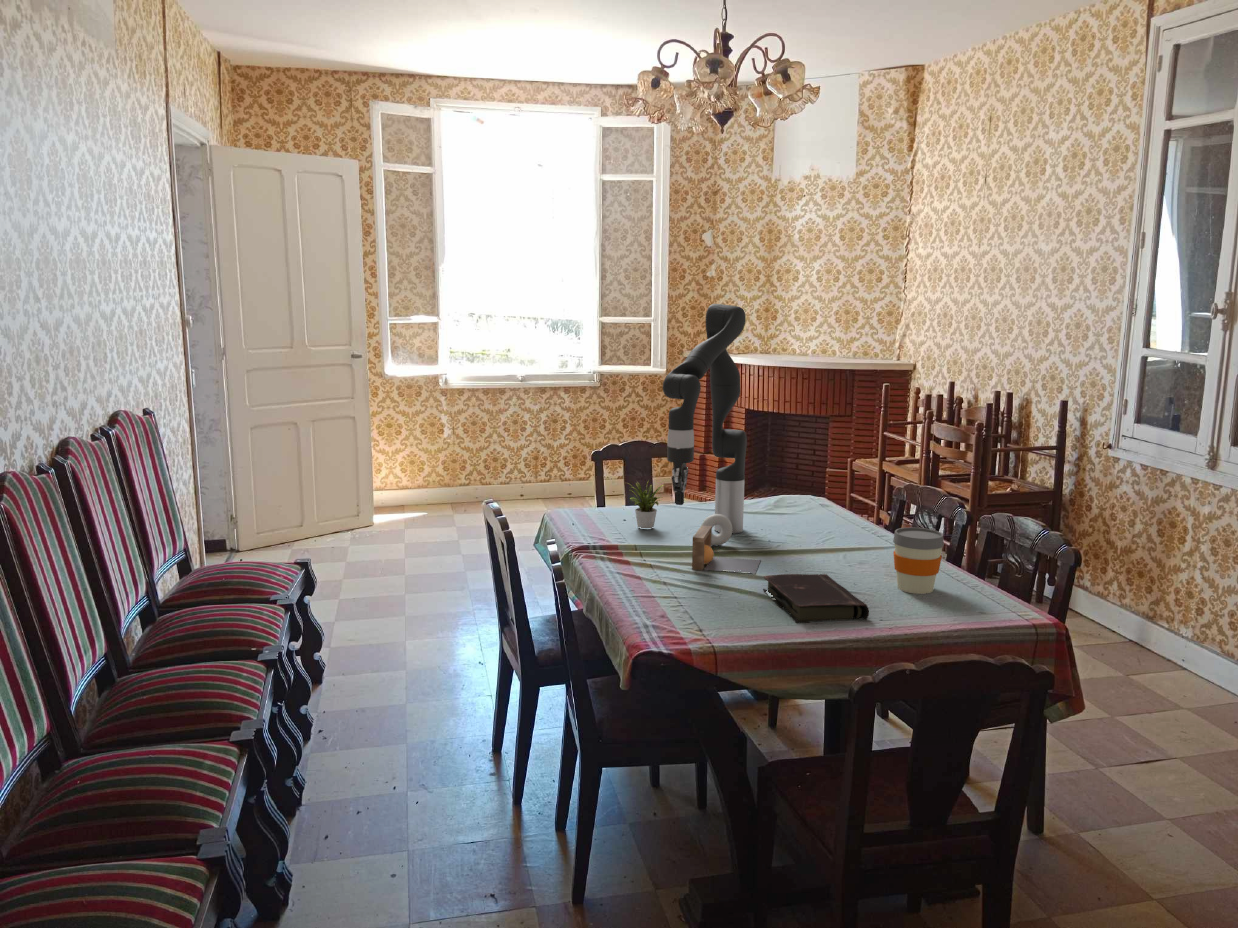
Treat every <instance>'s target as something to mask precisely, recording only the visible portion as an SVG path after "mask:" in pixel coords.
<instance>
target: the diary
mask: <svg viewBox="0 0 1238 928" xmlns="http://www.w3.org/2000/svg"><path fill="white" fill-rule="evenodd" d="M763 579H764V580H766V581H767V589H766V588H763V593H765V592H766V591H767V590H768V592H769V593H771V595H773V597H771V598H775V599H776V600H772V602H774V603H775V604H776V605H777V606H778V607H779V608H780V609H781V610H782V611H784V609H785V611H786V612H788V614H789V615H790V617H791V618H792V620H793V622H795V624H809V623H810V624H811V622H825V621H845V620H847V621H848V620H853V619H855V620H858V619H860V618H862V619H863V620H864V621H867V620H868V618H869V616H870V609H869V607H868V604H867V603H865V602H863V601H862V600H861V599H859V598H857V597H856V596H855V595H854V594H852V593H851V592H850V591H849V590H848V589H847V588H845V587H844V586H843V585H841V584H840V583H838V582H836V581H835V580H834V579H833V578H832V577H831V576H829V574H827V573H826V574H825V573H822V574H821V573H820V574H819V573H818V574H817V573H816V574H815V573H814V574H809V573H807V574H804V573H802V574H801V573H799V574H798V573H792V574H791V573H789V574H788V573H787V574H786V573H784V574H781V573H780V574H772V575H771V574H770V575H765V576H764V575H763ZM771 598H770V599H771Z"/></svg>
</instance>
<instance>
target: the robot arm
mask: <svg viewBox="0 0 1238 928" xmlns="http://www.w3.org/2000/svg"><path fill="white" fill-rule="evenodd" d="M746 319H747V318H746V313H745V309H743V307H740V306H737V305H731V304H723V303H712V304H710V305H709V306H708V308H707V309H706V313H705V333H706V339H705V340H704V341H702V342H700V343H698V344H697V345H696V346H695V347H694V348H693V349H691V350H690V352H689V353H688V355H687V356H686V358H685V359H684V361H683V362H681V363H680V364H679V365H677V366H676V367H675V368H673V369H672V370H671V371H670V372H669V373H668V374H667V375H666V376H665V378H664V380H663V383H662V391H663V394H664V396H666V397H667V398H669V399H674V400H683V401H682V404H681V405H680V406H678V407H677V406H676V407H673V408H671V409H670V410H669V412H668V431H667V443H666V444H667V448H666V449H667V450H666V451H667V452H666V453H667V455H666V458H667V459H666V460H667V461H668V462H669V463H673V464H674V466H673V468H672V469H671V470H672V471H671V473H672V475H671V481H672V482H671V483H672V489H673V491H674V492H675V505H676V506H683V505H684V504H685V491H686V488H687V483H688V475H689V467H687V464H690V463H692V462H694V459H695V456H694V455H695V432H694V424H695V423H694V416H695V411H696V409H697V408H696V407H697V404H698V400H699V398H700V393H701V389H702V388H701V387H702V386H701V382H700V380H701V379H702V378H704V376H705V375H706V373H707V372H708V370H709V369H710V371H709V374H710V375H709V376H710V377H709V378H710V381H709V382H710V384H709V385H710V398H711V409H712V410H711V411H712V413H711V414H712V415H711V416H712V417H711V418H712V420H711V421H712V424H711V425H712V427H711V429H712V430H711V438H712V439H711V447H712V449H711V450H712V454H713V456H714V457H716V458H722V459H724V458H725V459H734V462H733V463H731V464H729V465H727V466H723V467H720V468H718V469H716V472H715V496H714V497H715V501H714V502H715V504H714V506H715V507H714V514H721V515H724V516H726V517H727V518H728V519H729V520H730V522H731V524H732V529H733V530H732V533H733V534H739V533H742V532H743V531H744V510H745V509H744V507H745V506H744V505H745V475H746V474H745V472H746V455H747V446H748V445H747V440H748V439H747V438H748V437H747V436H748V435H747V433H746V431H745V430H742V429H732V428H731V429H730V428H729V429H728V428H724V426H723V425H724V422H725V420H726V418H727V416H728V415H729V413H730V411H732V409H733V407H734V406H735V404H736V403H737V401H738V400H739V398H740V397H741V396H740V395H741V374H740V370H739V368H738V366H737V364H736V363H735V361H734V360H733V358H732V356H731V355H730V354H729V352H728V351H727V348H728V347H729V346H731V344H733V342H734V341H735V340H737V338H738V337H739V336H740V335H741V334H742V332H743V331H744V328H745V325H746ZM715 530H716V531H715ZM721 530H722V529H721V526H720V525H715V526H714V531H715V532H717V531H718V532H717V533H720V532H721Z"/></svg>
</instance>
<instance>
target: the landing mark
mask: <svg viewBox="0 0 1238 928" xmlns="http://www.w3.org/2000/svg"><path fill="white" fill-rule="evenodd" d="M761 561H762V560H761V559H751V558H737V557H725V556H724V557H723V556H715V555H714V556H713V559H712V561H711V562H709V563H707V564H706V567H704V571H708V570H714V571H713V572H721V571H723V570H734V571H735V572H750V573H755V574H756V573H757V571H758V569H759V565H760V563H761ZM738 570H739V571H738ZM740 570H741V571H740ZM734 571H729V572H727V571H726V572H725V573H733V572H734Z"/></svg>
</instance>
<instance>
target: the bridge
mask: <svg viewBox="0 0 1238 928" xmlns="http://www.w3.org/2000/svg"><path fill="white" fill-rule="evenodd" d="M712 534H713V527H712V526H700V527H699V528H698V529H697V531H696V533H695V534H694V535H693V536H692V549H691V550H692V551H691V552H692V554H691V555H692V557H691V558H692V559H691V570H693V571H694V570H696V571H703V570H705V564H704V545H708V546H709V547H711V548H712V545H711V538H712Z"/></svg>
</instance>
